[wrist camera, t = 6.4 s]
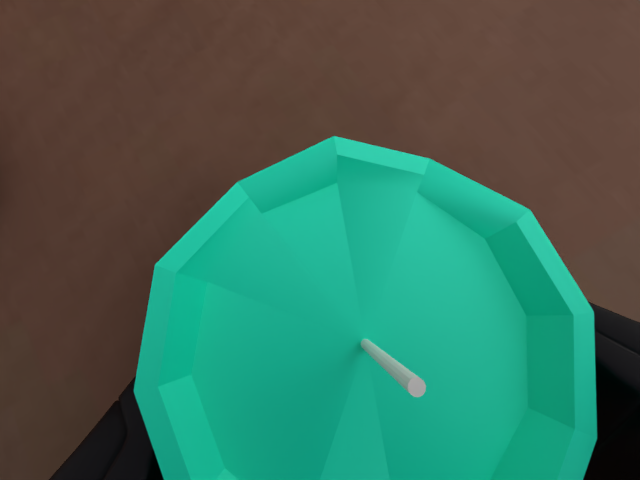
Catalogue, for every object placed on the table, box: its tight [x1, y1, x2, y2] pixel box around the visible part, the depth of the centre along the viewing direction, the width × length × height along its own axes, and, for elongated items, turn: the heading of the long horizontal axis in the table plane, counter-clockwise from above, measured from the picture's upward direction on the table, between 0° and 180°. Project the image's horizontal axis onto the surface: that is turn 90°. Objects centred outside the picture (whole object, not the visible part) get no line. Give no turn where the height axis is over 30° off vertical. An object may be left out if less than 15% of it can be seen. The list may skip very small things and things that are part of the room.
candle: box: [134, 136, 597, 480], centre depth 8 cm, size 6×6×12 cm
